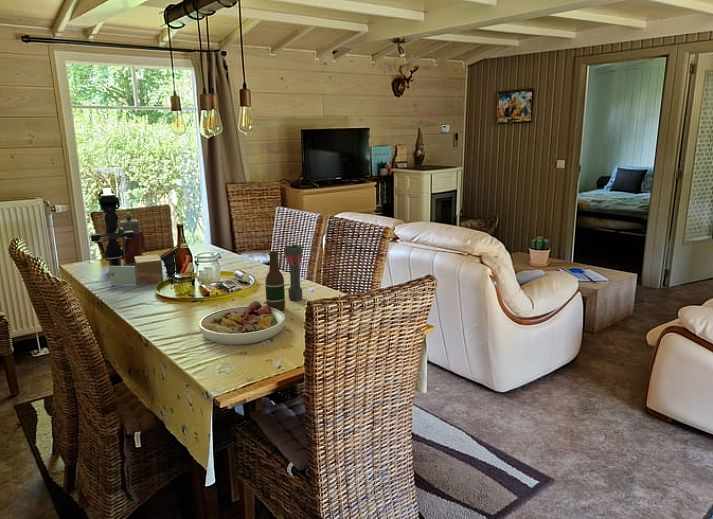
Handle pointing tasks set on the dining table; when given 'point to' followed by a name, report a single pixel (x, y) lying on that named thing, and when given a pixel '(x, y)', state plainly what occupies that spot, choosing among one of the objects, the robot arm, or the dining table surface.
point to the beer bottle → (275, 284)
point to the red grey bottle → (134, 244)
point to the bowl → (242, 324)
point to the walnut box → (149, 269)
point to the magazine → (169, 261)
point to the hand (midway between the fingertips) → (115, 253)
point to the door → (123, 275)
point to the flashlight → (294, 270)
